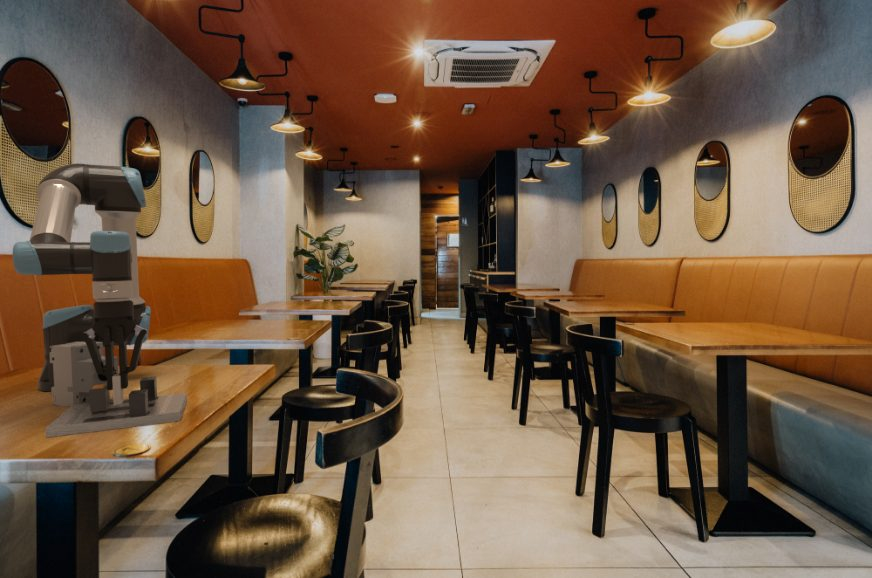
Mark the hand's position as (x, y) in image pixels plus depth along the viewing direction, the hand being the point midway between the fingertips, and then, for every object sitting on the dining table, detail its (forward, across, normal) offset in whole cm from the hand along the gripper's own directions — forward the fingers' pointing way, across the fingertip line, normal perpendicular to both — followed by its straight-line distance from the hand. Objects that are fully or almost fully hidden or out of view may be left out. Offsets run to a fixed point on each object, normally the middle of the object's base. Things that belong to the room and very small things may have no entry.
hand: (118, 403), depth 110 cm
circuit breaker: (+4, -10, +19) cm, 22 cm away
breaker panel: (+3, +1, 0) cm, 3 cm away
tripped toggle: (+1, -3, 0) cm, 4 cm away
